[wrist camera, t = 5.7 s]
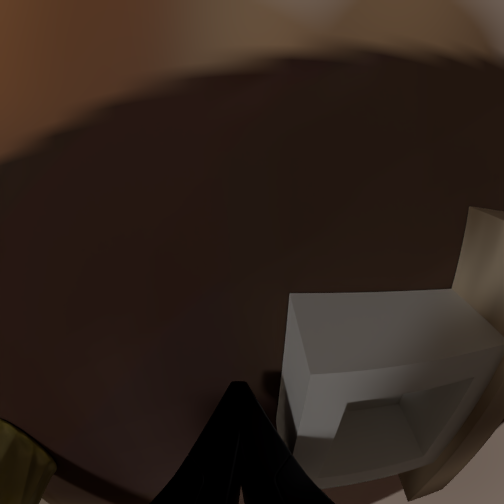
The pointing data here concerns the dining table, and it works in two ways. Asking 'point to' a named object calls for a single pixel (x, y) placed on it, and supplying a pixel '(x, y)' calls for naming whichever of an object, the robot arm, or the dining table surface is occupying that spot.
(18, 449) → the olive ribbed cylinder
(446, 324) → the socket block
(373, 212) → the dining table surface
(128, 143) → the dining table surface
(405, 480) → the backstop
